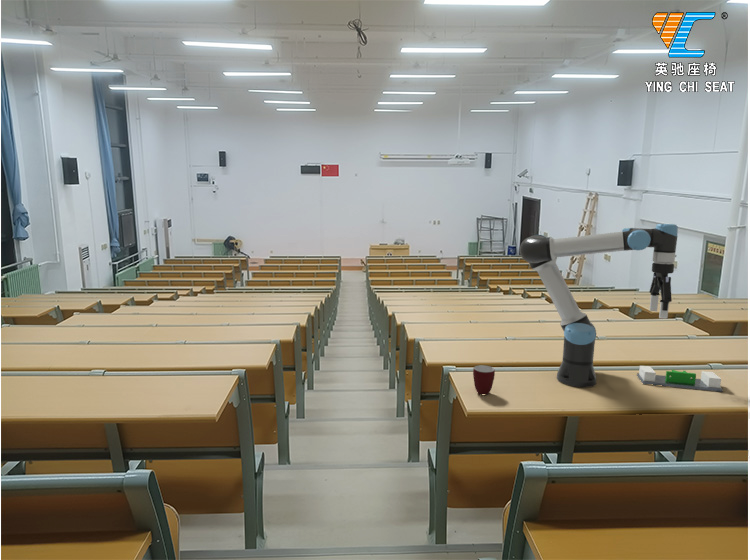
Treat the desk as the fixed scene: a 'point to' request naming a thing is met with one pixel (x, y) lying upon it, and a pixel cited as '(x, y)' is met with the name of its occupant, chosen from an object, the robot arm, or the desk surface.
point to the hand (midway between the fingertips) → (658, 314)
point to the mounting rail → (706, 382)
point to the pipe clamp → (680, 377)
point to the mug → (483, 378)
